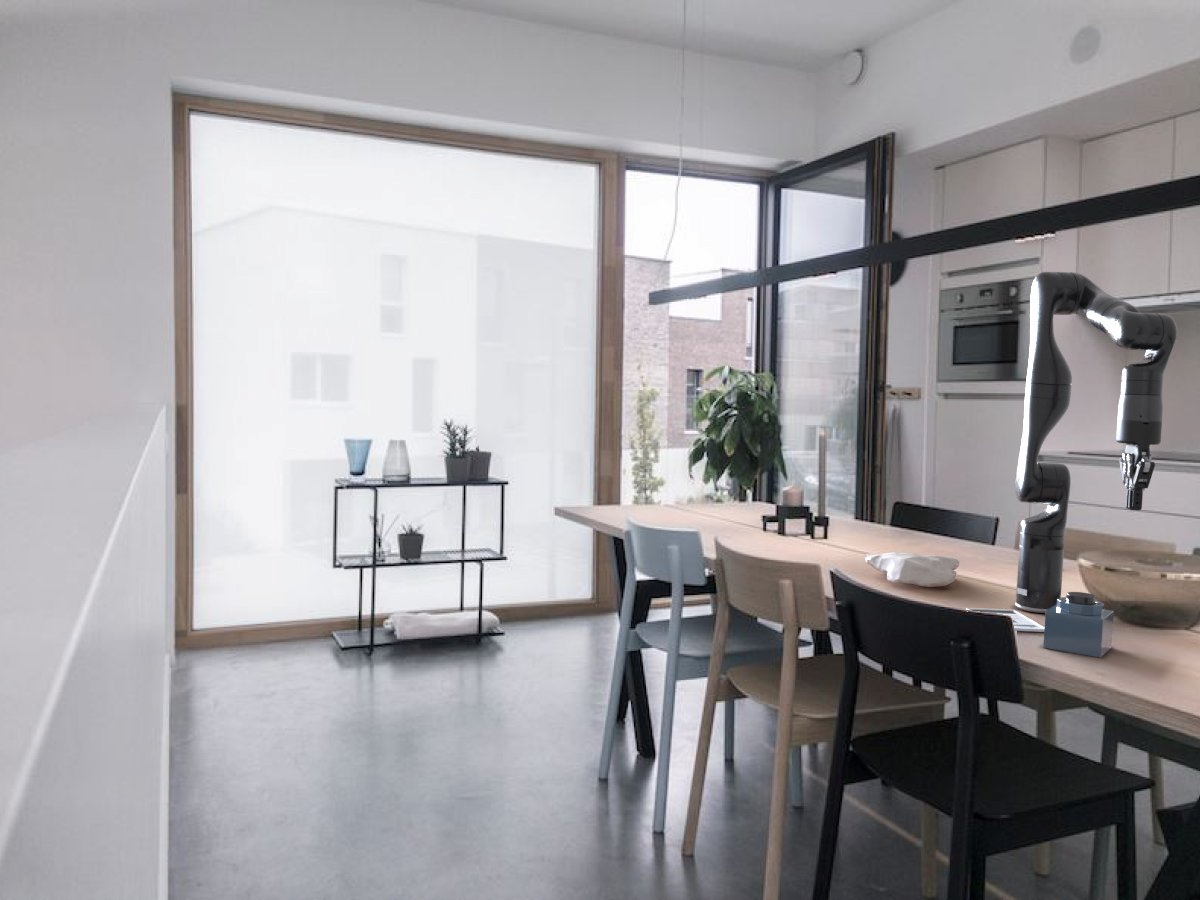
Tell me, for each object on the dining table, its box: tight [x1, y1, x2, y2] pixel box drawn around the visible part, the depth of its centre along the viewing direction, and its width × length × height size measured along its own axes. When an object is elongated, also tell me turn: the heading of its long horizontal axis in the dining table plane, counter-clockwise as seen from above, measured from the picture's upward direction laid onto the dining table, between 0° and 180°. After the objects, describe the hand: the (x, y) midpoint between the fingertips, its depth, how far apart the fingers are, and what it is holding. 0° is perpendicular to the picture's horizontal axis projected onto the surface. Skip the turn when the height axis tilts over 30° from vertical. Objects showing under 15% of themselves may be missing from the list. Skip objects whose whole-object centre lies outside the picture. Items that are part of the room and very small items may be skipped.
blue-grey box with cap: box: [1042, 596, 1115, 658], centre depth 191 cm, size 10×10×9 cm
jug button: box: [1065, 591, 1096, 605], centre depth 190 cm, size 5×5×2 cm
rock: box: [864, 551, 960, 588], centre depth 257 cm, size 8×23×30 cm
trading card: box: [965, 607, 1045, 633], centre depth 211 cm, size 11×1×18 cm
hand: (1133, 509), depth 190 cm, fingers closed
